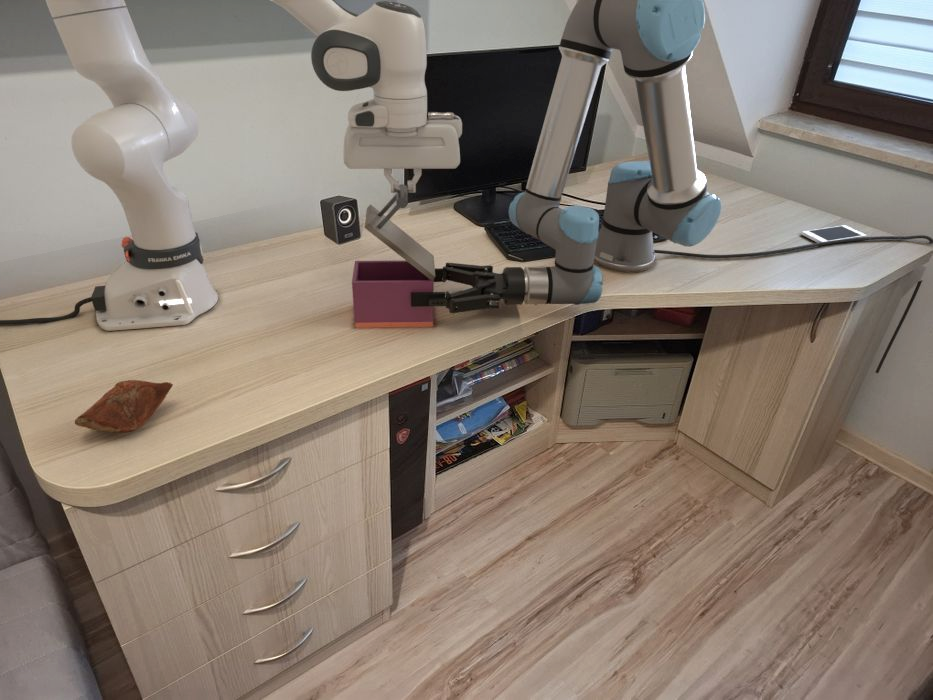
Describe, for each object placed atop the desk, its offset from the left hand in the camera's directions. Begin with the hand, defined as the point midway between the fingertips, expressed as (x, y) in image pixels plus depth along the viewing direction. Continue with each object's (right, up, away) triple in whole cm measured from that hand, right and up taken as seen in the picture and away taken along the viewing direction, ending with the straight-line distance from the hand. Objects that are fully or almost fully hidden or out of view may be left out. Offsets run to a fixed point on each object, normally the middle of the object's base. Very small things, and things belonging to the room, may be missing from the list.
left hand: (403, 191), depth 115 cm
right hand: (0, -16, +11) cm, 19 cm away
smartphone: (+109, +2, +55) cm, 122 cm away
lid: (-1, -9, +6) cm, 10 cm away
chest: (-3, -21, +14) cm, 26 cm away
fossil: (-41, -40, -16) cm, 59 cm away
